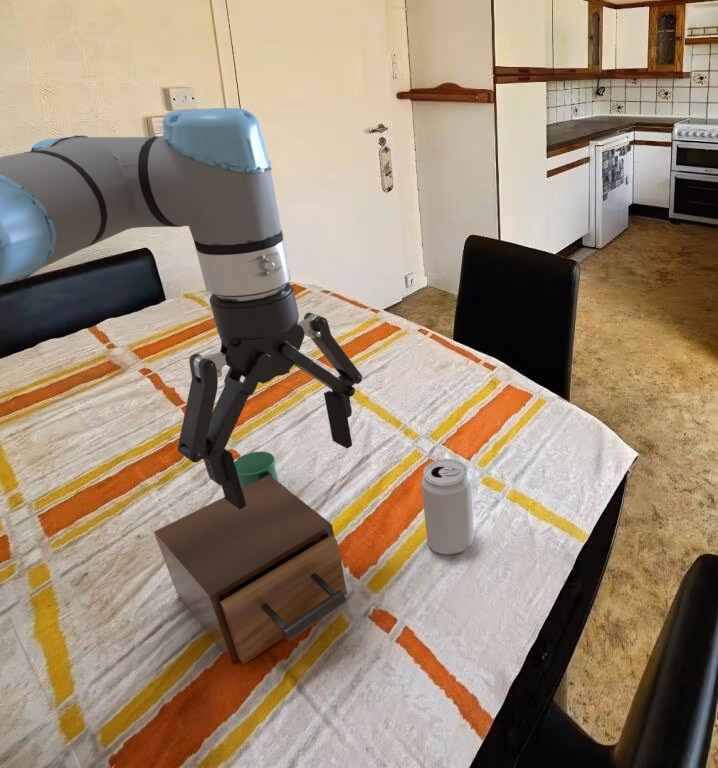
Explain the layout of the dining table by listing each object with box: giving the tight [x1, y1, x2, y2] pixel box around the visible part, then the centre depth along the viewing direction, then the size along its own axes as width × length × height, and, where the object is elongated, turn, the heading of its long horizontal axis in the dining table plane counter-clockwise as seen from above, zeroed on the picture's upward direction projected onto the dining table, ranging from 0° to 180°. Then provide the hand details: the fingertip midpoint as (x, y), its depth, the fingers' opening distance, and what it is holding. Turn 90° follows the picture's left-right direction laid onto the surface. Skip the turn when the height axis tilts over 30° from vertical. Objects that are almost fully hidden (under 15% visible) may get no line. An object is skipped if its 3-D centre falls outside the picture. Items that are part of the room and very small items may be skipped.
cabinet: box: [153, 475, 336, 665], centre depth 75 cm, size 15×15×11 cm
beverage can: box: [420, 458, 475, 555], centre depth 83 cm, size 6×6×12 cm
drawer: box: [219, 535, 348, 665], centre depth 72 cm, size 19×13×9 cm
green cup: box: [234, 451, 280, 488], centre depth 94 cm, size 8×6×6 cm
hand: (292, 471), depth 69 cm, fingers open, 13 cm apart
